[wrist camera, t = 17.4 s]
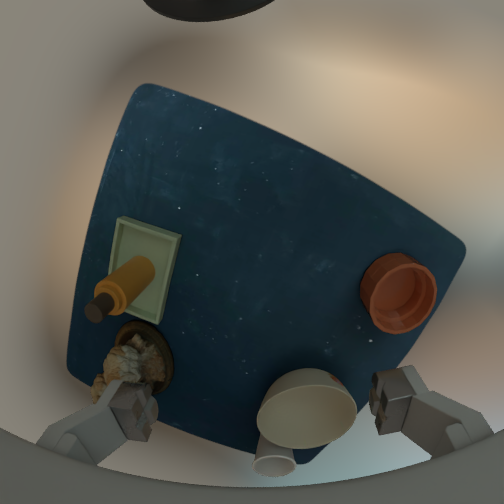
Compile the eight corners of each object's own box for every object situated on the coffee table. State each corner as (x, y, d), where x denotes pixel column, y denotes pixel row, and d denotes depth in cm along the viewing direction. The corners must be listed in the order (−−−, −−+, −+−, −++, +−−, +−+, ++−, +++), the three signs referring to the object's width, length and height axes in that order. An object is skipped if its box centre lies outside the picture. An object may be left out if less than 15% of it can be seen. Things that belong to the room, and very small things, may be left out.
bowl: (242, 370, 51) (237, 408, 41) (325, 332, 48) (335, 368, 38) (284, 420, 54) (285, 457, 45) (357, 390, 51) (368, 426, 42)
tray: (123, 215, 45) (117, 218, 42) (182, 235, 45) (177, 238, 43) (110, 297, 49) (104, 303, 47) (162, 318, 49) (158, 324, 47)
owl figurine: (179, 398, 54) (155, 462, 38) (126, 388, 55) (93, 445, 38) (170, 323, 49) (132, 386, 33) (110, 314, 50) (60, 367, 33)
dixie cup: (302, 425, 55) (305, 462, 45) (281, 445, 57) (281, 480, 47) (267, 414, 54) (265, 451, 44) (247, 435, 56) (244, 470, 47)
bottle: (124, 256, 46) (71, 294, 31) (152, 254, 45) (104, 293, 31) (131, 285, 47) (83, 331, 32) (158, 284, 47) (115, 332, 32)
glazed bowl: (359, 254, 44) (371, 267, 38) (422, 249, 43) (440, 260, 37) (357, 319, 47) (367, 338, 41) (416, 311, 46) (431, 327, 40)
